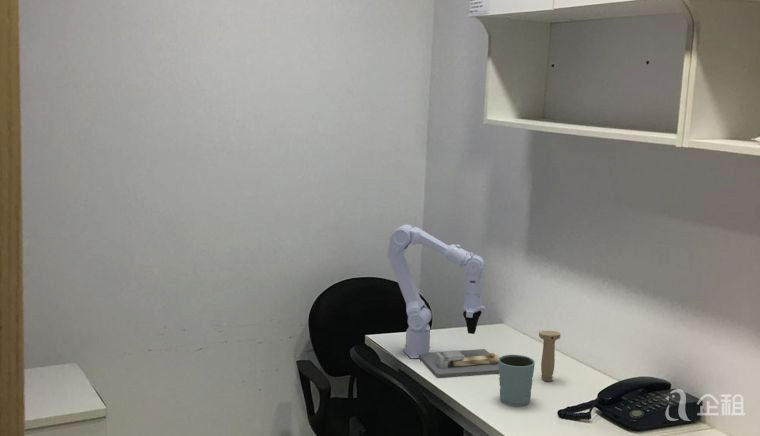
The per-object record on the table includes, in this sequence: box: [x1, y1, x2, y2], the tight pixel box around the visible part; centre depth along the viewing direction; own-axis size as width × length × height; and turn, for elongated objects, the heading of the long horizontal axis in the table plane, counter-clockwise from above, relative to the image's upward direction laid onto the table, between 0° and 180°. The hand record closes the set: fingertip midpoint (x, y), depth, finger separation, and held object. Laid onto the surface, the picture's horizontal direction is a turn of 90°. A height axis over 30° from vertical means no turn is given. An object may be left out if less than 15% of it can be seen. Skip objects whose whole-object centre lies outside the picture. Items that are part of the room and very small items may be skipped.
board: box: [418, 348, 499, 379], centre depth 243 cm, size 20×24×1 cm
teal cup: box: [498, 354, 536, 407], centre depth 214 cm, size 10×10×12 cm
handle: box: [538, 330, 562, 382], centre depth 230 cm, size 5×6×15 cm
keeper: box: [435, 350, 465, 369], centre depth 239 cm, size 8×5×4 cm, turn 105°
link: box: [450, 352, 500, 367], centre depth 241 cm, size 16×5×2 cm, turn 108°
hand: (471, 333), depth 246 cm, fingers closed
